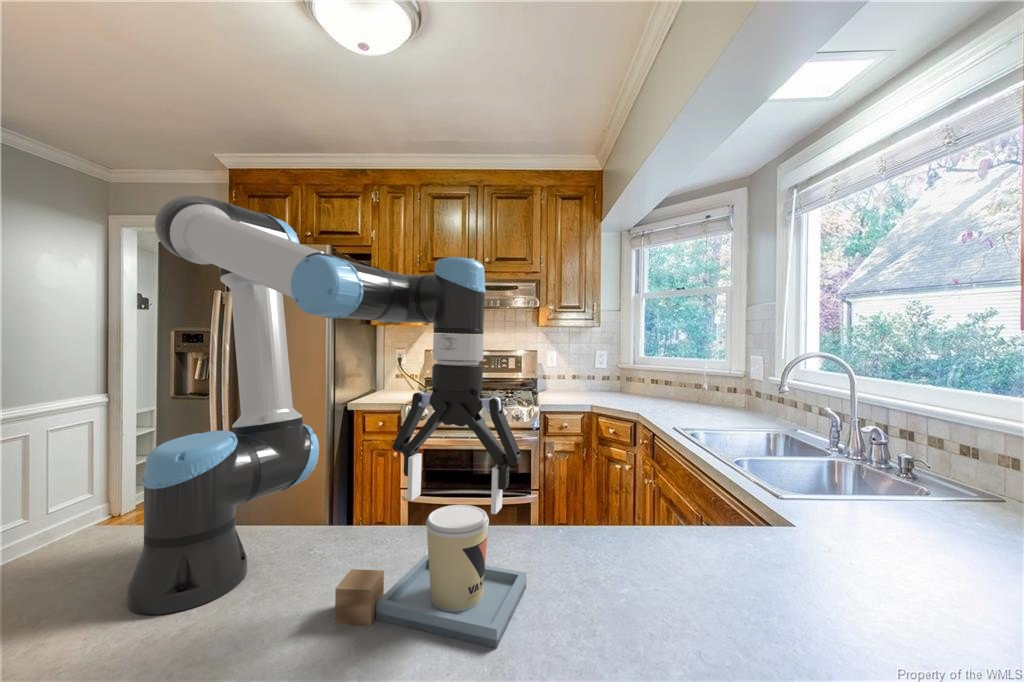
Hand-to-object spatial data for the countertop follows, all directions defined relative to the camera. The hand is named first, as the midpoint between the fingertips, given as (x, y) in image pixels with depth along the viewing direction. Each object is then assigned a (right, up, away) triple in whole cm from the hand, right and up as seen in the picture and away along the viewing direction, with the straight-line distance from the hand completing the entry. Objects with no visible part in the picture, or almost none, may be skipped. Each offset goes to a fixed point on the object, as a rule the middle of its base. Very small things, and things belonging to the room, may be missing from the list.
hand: (454, 503), depth 63 cm
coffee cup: (0, -14, 0) cm, 14 cm away
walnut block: (-13, -15, -3) cm, 20 cm away
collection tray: (0, -15, 0) cm, 15 cm away
